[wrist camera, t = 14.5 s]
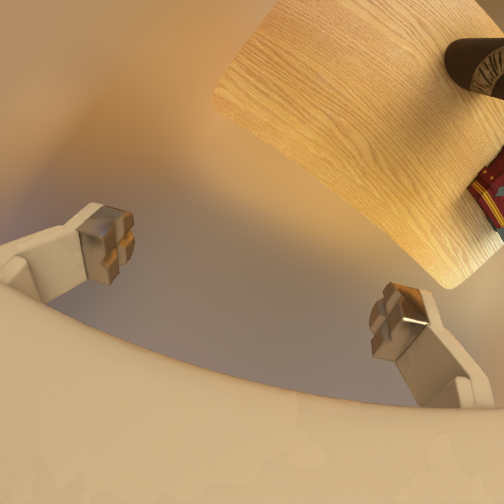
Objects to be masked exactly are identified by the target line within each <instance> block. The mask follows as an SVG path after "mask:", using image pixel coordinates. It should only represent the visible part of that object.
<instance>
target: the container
mask: <svg viewBox="0 0 504 504" xmlns="http://www.w3.org/2000/svg"><path fill="white" fill-rule="evenodd" d="M445 65H446V69H447V71H448V73H449V75H450V77H451V78H452V79H453V80H454V82H455V83H456V84H458V85H459V86H460V87H462V88H464V89H466V90H468V91H471V92H476V93H480V94H484V95H487V96H491V97H495V98H498V99H502V100H504V38H466V39H459V40H456V41H454V42H453V43H451V44H450V46H449V47H448V49H447V51H446V55H445Z"/></svg>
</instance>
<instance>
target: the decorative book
mask: <svg viewBox="0 0 504 504" xmlns="http://www.w3.org/2000/svg"><path fill="white" fill-rule="evenodd" d="M502 149H503V151H502V152H501V154H500V155H499V156H498V157H497V158H496V159H495V160H494V161H493V162H492V164H491V165H490V166H489V167H486V166H485V167H484V168H483V169H482V171H481V172H480V173H479V174H478V175H479V177H478V178H477V179H476V181H475V182H474V183H473V184H472V185H471V186H470V187H469V188H468V190H469V191H470V192H471V194H472V195H473V197H474V198H475V199H476V201H477V202H478V204H479V205H480V207H481V208H482V210H483V211H484V213H485V214H486V216H487V219H488V220H489V222H490V224H491V225H492V227H493V228H494V230H495V231H496V232H498V234H499V235H500V237H501V239H502V240H503V242H504V146H503V147H502Z"/></svg>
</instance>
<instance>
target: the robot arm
mask: <svg viewBox="0 0 504 504" xmlns="http://www.w3.org/2000/svg"><path fill="white" fill-rule="evenodd" d="M133 225H134V220H133V215H132V214H131V213H130V212H127V211H123V210H120V209H116V208H113V207H109V206H105V205H101V204H98V203H89V204H88V205H87V206H86V207H84V208H83V209H82V210H81V211H80V212H78V213H77V214H76V215H75V216H74V217H72V218H71V219H70V220H69V221H68V222H67V223H66V224H64V225H63V226H60V225H58V226H55V227H52V228H49V229H46V230H43V231H40V232H37V233H34V234H31V235H28V236H25V237H23V238H20V239H17V240H14V241H11V242H9V243H6V244H3V245H1V246H0V504H504V408H495V404H494V400H493V395H492V392H491V388H490V384H489V380H488V378H487V376H486V375H485V374H484V372H483V371H482V370H481V369H480V367H479V366H478V365H477V364H476V363H475V361H474V360H473V359H472V358H471V356H470V355H469V354H468V353H467V352H466V351H465V349H464V348H463V347H462V346H461V345H460V343H459V342H458V341H457V340H456V339H455V338H454V337H453V335H452V334H451V333H450V332H449V331H448V330H447V329H444V328H443V324H442V321H441V318H440V315H439V312H438V309H437V306H436V304H435V301H434V298H433V295H432V294H431V293H430V292H429V291H425V290H421V289H415V288H411V287H407V286H403V285H400V284H396V283H392V282H390V283H389V284H388V285H386V287H385V289H384V290H383V295H384V298H382V299H380V300H378V301H377V302H376V303H375V305H374V307H373V309H372V312H371V315H370V321H369V325H370V330H371V332H372V333H373V334H374V337H373V339H372V340H371V345H372V355H373V358H377V359H382V360H387V361H392V362H396V363H395V364H396V366H397V368H398V369H399V371H400V373H401V375H402V376H403V378H404V380H405V382H406V383H407V385H408V387H409V389H410V391H411V392H412V394H413V396H414V398H415V400H416V402H417V403H418V405H419V407H408V406H397V405H386V404H376V403H368V402H360V401H353V400H346V399H339V398H332V397H326V396H320V395H315V394H309V393H304V392H299V391H293V390H289V389H284V388H279V387H275V386H270V385H266V384H262V383H258V382H253V381H249V380H245V379H242V378H238V377H234V376H230V375H227V374H223V373H219V372H216V371H212V370H209V369H206V368H202V367H199V366H196V365H192V364H189V363H186V362H183V361H180V360H177V359H174V358H171V357H168V356H165V355H162V354H159V353H156V352H154V351H151V350H148V349H145V348H143V347H140V346H137V345H134V344H132V343H129V342H127V341H124V340H122V339H119V338H117V337H114V336H112V335H109V334H107V333H104V332H102V331H100V330H97V329H95V328H93V327H91V326H88V325H86V324H84V323H81V322H79V321H77V320H75V319H73V318H71V317H68V316H66V315H64V314H62V313H60V312H58V311H56V310H54V309H52V308H50V307H48V306H46V305H44V304H46V303H48V302H49V301H51V300H53V299H54V298H56V297H58V296H60V295H61V294H63V293H65V292H67V291H68V290H70V289H72V288H74V287H76V286H78V285H79V284H81V283H83V282H85V281H87V279H90V280H93V281H96V282H99V283H102V284H105V285H108V286H110V284H111V283H112V282H113V280H114V279H115V278H116V277H117V275H118V274H119V267H120V266H122V265H125V264H127V262H128V261H129V259H130V258H131V256H132V253H133V250H134V243H135V240H134V235H133V234H132V232H131V230H130V229H131V227H132V226H133Z"/></svg>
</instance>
